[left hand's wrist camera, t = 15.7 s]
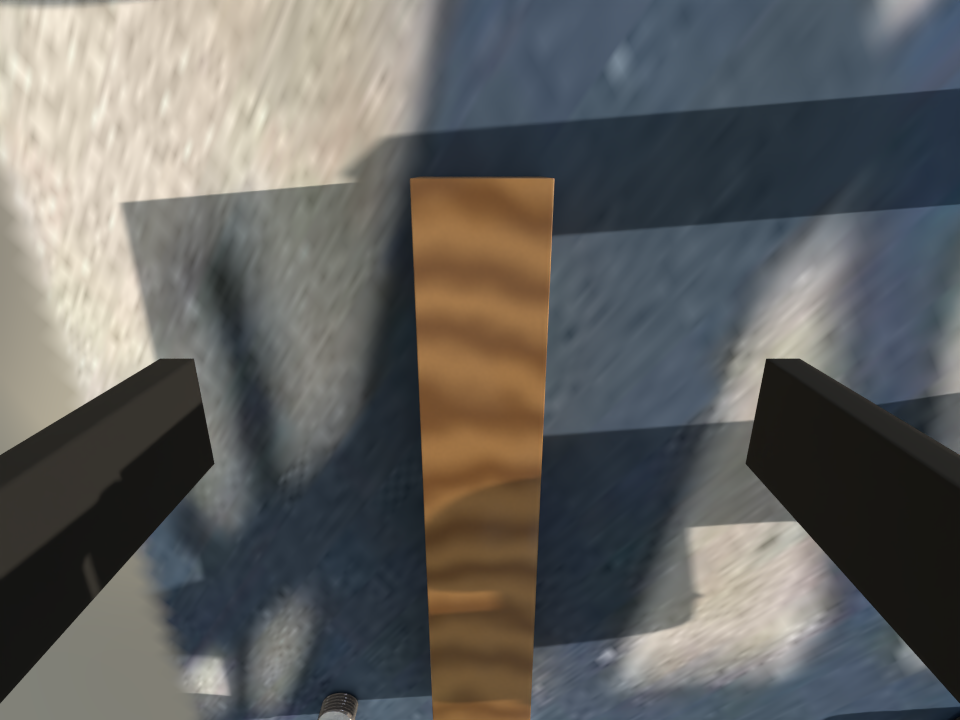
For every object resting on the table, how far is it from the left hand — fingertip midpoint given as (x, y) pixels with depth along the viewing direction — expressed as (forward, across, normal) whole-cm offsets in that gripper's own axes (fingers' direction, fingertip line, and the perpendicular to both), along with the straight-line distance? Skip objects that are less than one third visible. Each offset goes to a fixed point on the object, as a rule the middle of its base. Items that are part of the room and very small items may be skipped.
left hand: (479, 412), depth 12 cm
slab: (+33, 0, -23) cm, 41 cm away
